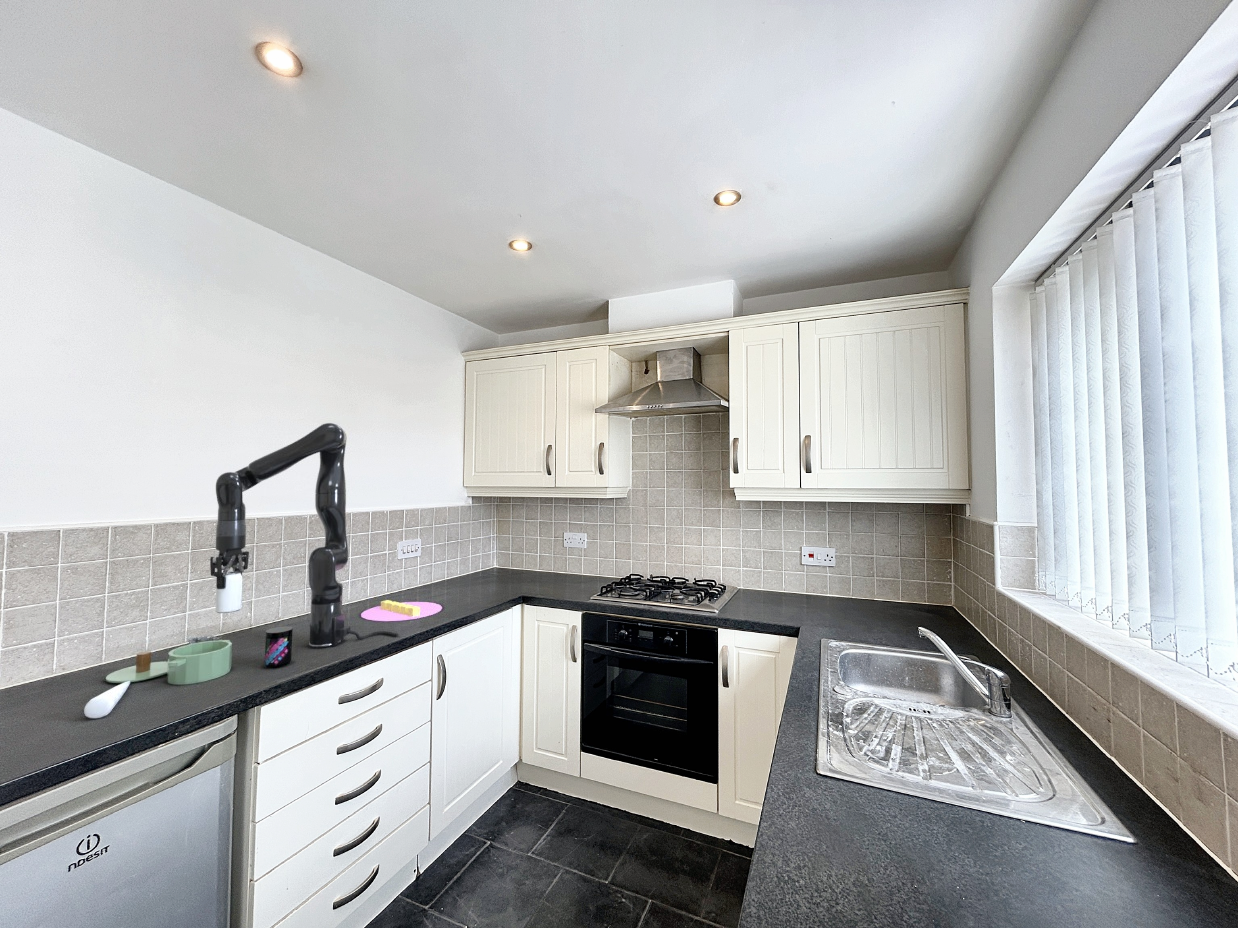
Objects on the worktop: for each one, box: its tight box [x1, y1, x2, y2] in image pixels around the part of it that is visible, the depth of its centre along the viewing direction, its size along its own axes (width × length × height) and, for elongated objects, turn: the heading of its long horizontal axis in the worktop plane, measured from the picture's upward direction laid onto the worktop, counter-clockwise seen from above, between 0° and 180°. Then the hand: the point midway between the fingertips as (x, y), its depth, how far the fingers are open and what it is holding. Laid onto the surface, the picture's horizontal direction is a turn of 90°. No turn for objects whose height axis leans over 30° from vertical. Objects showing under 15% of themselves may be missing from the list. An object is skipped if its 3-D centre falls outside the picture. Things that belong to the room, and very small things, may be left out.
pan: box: [166, 639, 233, 686], centre depth 138 cm, size 14×19×8 cm
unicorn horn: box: [83, 681, 131, 719], centre depth 122 cm, size 5×24×5 cm, turn 29°
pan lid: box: [105, 650, 168, 684], centre depth 138 cm, size 15×15×6 cm
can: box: [215, 571, 243, 614], centre depth 156 cm, size 6×6×12 cm
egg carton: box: [187, 635, 223, 645], centre depth 159 cm, size 11×8×4 cm
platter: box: [360, 599, 443, 622], centre depth 209 cm, size 32×32×3 cm
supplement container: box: [264, 625, 294, 669], centre depth 146 cm, size 7×7×10 cm
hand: (229, 586), depth 156 cm, fingers closed on can, 6 cm apart
